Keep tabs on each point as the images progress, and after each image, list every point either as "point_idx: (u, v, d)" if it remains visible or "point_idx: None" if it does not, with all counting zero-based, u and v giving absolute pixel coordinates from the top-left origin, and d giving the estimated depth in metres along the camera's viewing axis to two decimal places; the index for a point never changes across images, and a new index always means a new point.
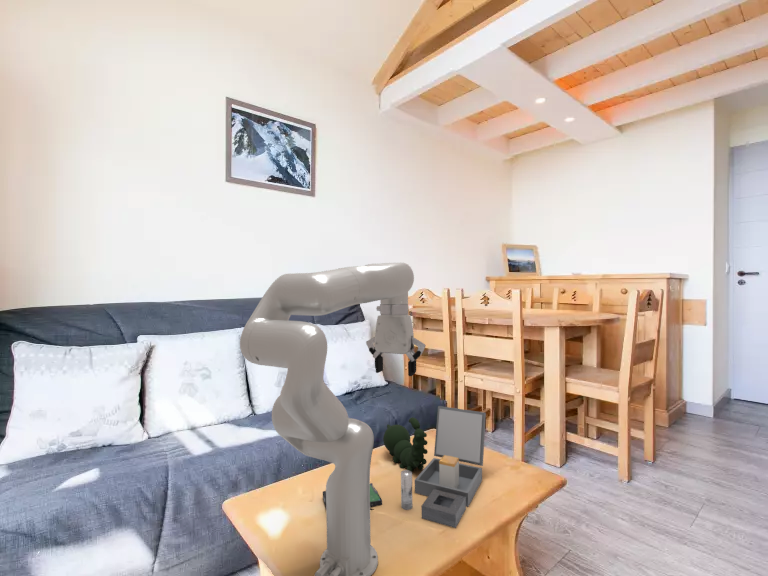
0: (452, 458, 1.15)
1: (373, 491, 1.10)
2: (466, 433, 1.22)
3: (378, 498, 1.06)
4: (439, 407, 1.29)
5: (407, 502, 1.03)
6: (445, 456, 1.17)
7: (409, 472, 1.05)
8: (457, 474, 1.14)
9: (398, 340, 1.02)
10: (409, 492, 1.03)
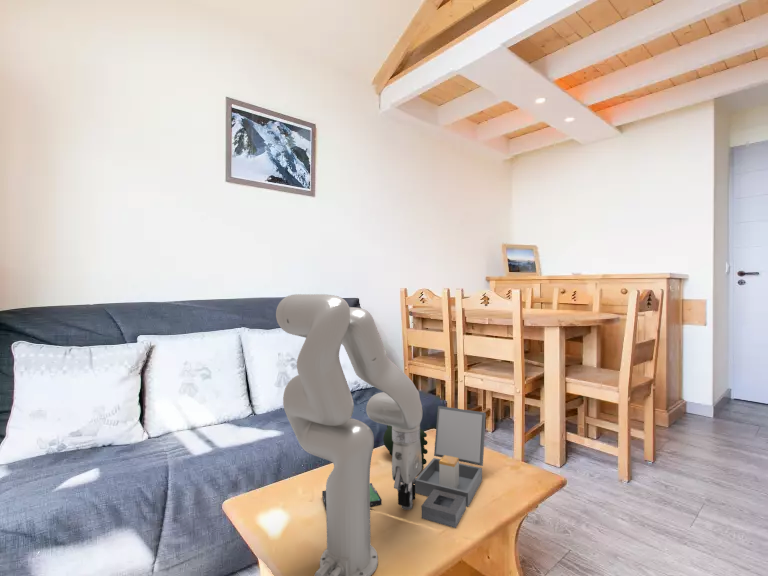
0: (452, 458, 1.15)
1: (373, 491, 1.10)
2: (466, 433, 1.22)
3: (378, 498, 1.07)
4: (439, 407, 1.29)
5: None
6: (445, 456, 1.17)
7: None
8: (457, 474, 1.14)
9: (419, 460, 1.05)
10: None
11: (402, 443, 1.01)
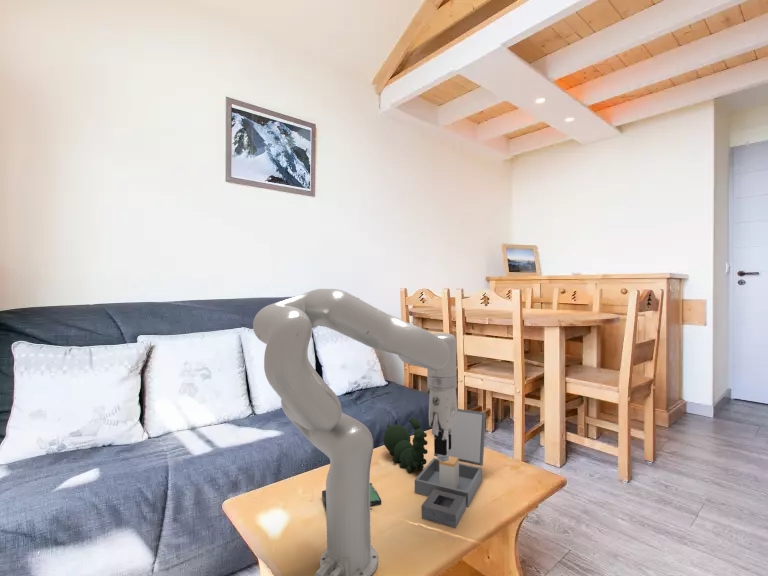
0: (452, 458, 1.15)
1: (372, 491, 1.10)
2: (466, 433, 1.22)
3: (377, 498, 1.07)
4: None
5: None
6: None
7: None
8: (457, 474, 1.14)
9: (455, 408, 1.02)
10: None
11: (439, 388, 0.97)
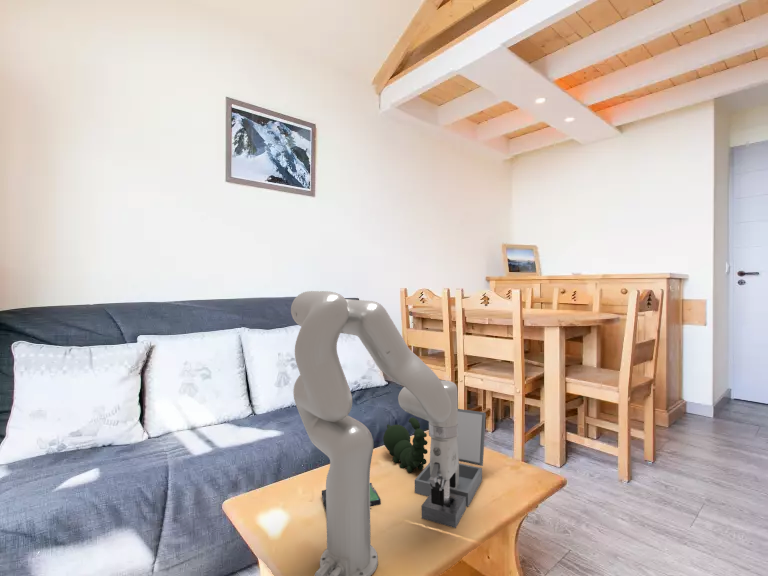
0: None
1: (372, 491, 1.10)
2: (466, 433, 1.22)
3: (377, 498, 1.07)
4: None
5: None
6: None
7: None
8: (457, 474, 1.14)
9: (456, 456, 1.02)
10: (447, 498, 1.00)
11: (440, 438, 0.97)
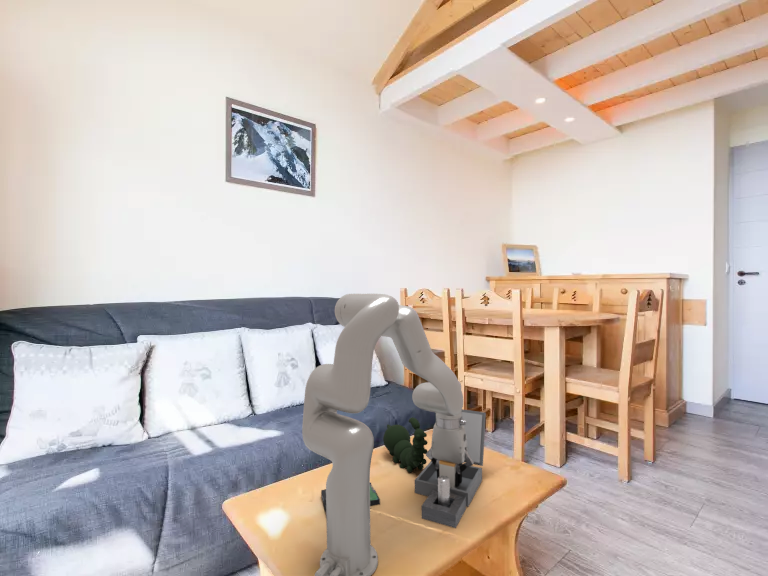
0: None
1: (371, 490, 1.11)
2: (466, 433, 1.22)
3: (376, 497, 1.07)
4: None
5: None
6: None
7: (446, 478, 1.01)
8: None
9: None
10: (447, 498, 1.00)
11: (461, 426, 1.13)
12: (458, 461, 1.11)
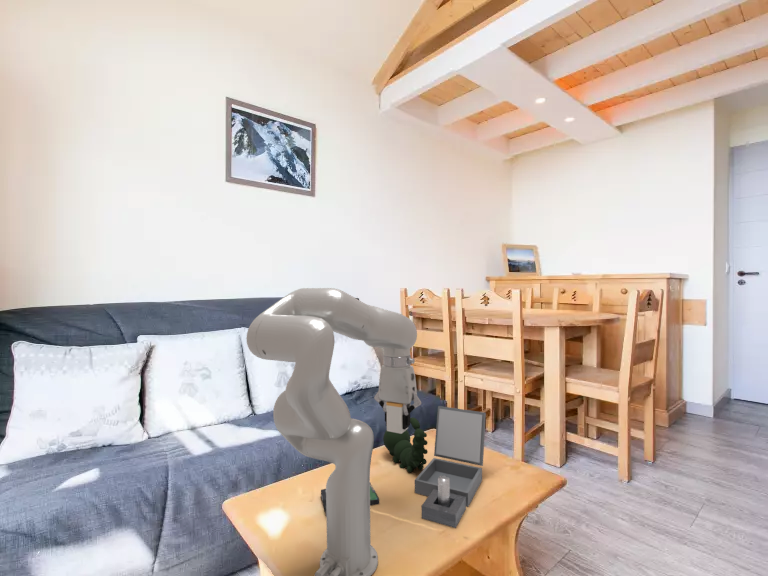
0: None
1: (371, 490, 1.11)
2: (466, 433, 1.22)
3: (375, 497, 1.07)
4: (439, 407, 1.29)
5: None
6: None
7: (446, 478, 1.01)
8: None
9: None
10: (447, 498, 1.00)
11: (409, 365, 1.07)
12: (405, 401, 1.05)
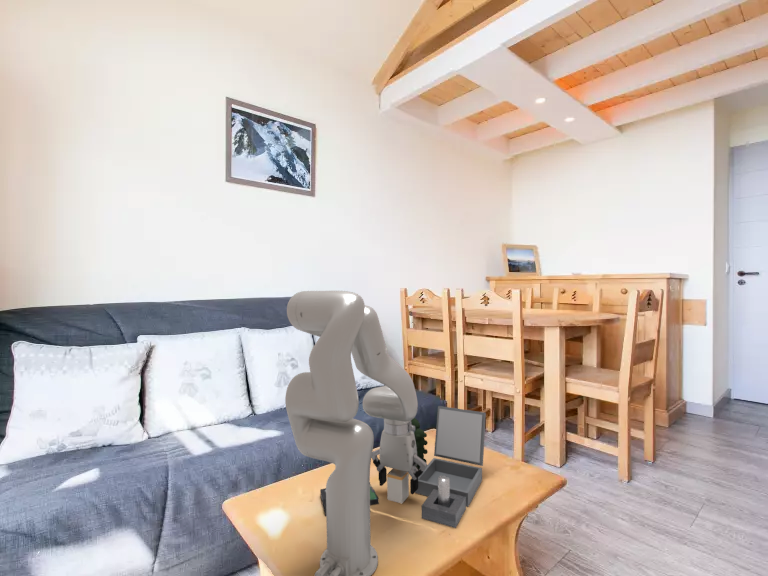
0: (401, 471, 1.10)
1: (370, 490, 1.11)
2: (466, 433, 1.22)
3: (375, 497, 1.07)
4: (439, 407, 1.29)
5: None
6: None
7: (446, 478, 1.01)
8: (406, 488, 1.08)
9: None
10: (447, 498, 1.00)
11: (410, 431, 1.08)
12: (406, 469, 1.06)
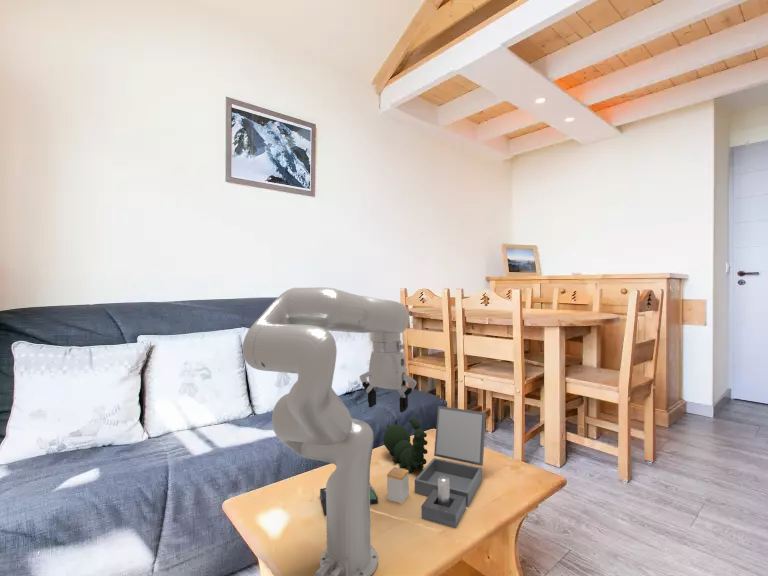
0: (401, 471, 1.10)
1: (370, 490, 1.11)
2: (466, 433, 1.22)
3: (374, 497, 1.07)
4: (439, 407, 1.29)
5: None
6: (395, 468, 1.11)
7: (446, 478, 1.01)
8: (406, 488, 1.08)
9: None
10: (447, 498, 1.00)
11: (399, 351, 1.07)
12: (395, 387, 1.04)
